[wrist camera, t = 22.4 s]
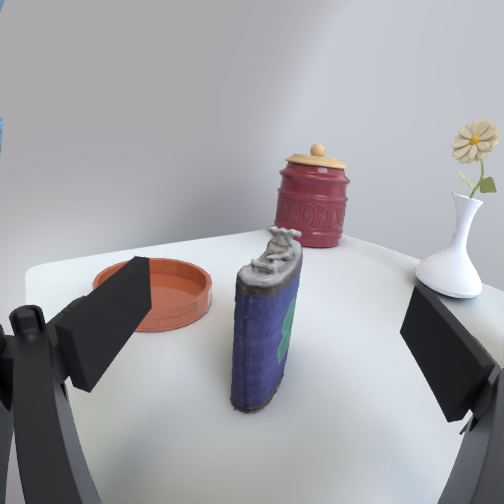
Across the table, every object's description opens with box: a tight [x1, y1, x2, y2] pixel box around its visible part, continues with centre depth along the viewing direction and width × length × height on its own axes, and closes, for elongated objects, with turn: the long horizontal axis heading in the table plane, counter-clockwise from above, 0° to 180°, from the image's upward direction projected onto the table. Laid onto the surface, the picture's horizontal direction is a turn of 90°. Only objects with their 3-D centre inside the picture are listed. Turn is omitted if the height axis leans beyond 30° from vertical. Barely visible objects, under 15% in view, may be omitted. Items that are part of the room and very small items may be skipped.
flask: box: [230, 226, 303, 414], centre depth 19 cm, size 9×3×11 cm, turn 163°
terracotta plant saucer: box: [93, 258, 212, 332], centre depth 29 cm, size 12×12×2 cm
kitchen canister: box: [274, 144, 350, 247], centre depth 53 cm, size 13×13×18 cm
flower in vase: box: [415, 119, 499, 298], centre depth 33 cm, size 13×11×25 cm
